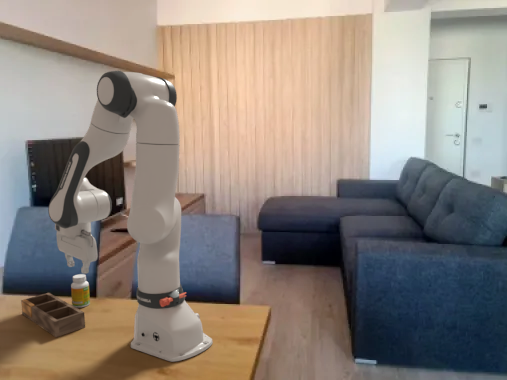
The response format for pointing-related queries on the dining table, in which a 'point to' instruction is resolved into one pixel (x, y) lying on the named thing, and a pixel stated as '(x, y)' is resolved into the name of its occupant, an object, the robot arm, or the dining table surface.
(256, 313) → the dining table surface
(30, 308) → the box
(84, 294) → the supplement bottle
